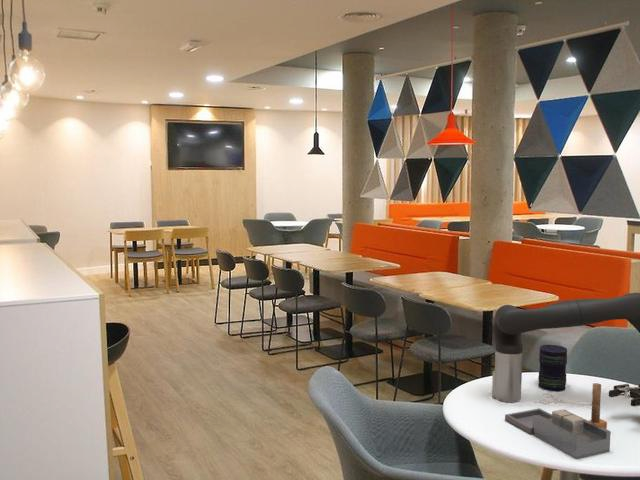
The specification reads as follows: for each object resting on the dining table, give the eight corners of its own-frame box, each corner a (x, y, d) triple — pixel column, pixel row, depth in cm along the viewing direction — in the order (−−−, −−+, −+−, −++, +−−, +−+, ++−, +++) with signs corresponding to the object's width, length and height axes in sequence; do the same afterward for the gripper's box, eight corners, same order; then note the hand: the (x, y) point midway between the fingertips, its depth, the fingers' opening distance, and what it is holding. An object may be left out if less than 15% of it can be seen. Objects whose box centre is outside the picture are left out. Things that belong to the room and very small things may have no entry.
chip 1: (551, 423, 191) (552, 411, 191) (561, 421, 193) (562, 409, 192) (561, 428, 187) (561, 416, 187) (571, 426, 189) (572, 413, 188)
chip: (562, 429, 187) (562, 416, 187) (572, 427, 188) (573, 414, 188) (572, 434, 183) (573, 421, 183) (583, 432, 185) (583, 419, 184)
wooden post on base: (583, 430, 196) (585, 384, 194) (599, 427, 198) (601, 381, 196) (590, 434, 193) (592, 387, 191) (606, 431, 195) (608, 384, 194)
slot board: (532, 434, 193) (532, 415, 193) (563, 427, 198) (564, 409, 197) (576, 458, 177) (577, 438, 176) (609, 451, 181) (610, 431, 181)
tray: (505, 420, 204) (505, 414, 204) (539, 414, 209) (539, 408, 209) (530, 434, 193) (530, 428, 193) (565, 427, 198) (565, 421, 198)
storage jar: (571, 390, 231) (573, 351, 230) (547, 392, 229) (549, 352, 228) (556, 381, 241) (557, 343, 239) (532, 383, 239) (534, 345, 237)
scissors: (539, 392, 229) (598, 401, 219) (539, 394, 229) (598, 403, 219) (533, 401, 220) (595, 411, 210) (533, 404, 220) (595, 413, 210)
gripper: (639, 373, 211) (603, 380, 204) (677, 387, 197) (640, 394, 191) (638, 395, 211) (601, 402, 205) (676, 410, 198) (638, 418, 192)
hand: (620, 398), depth 198 cm, fingers open, 8 cm apart
